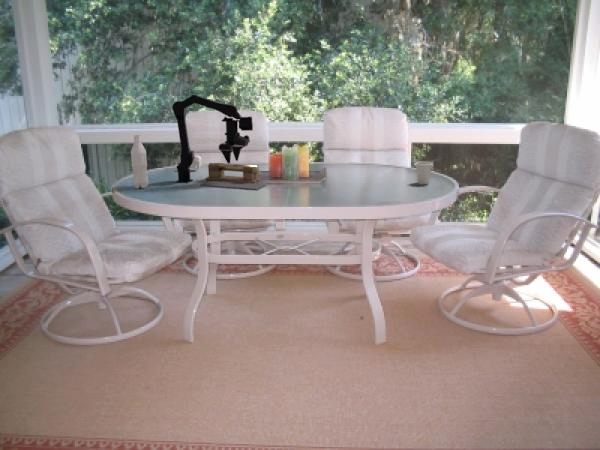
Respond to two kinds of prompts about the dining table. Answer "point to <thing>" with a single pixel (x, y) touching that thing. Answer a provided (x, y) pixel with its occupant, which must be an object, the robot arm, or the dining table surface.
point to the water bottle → (139, 163)
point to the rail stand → (219, 176)
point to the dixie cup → (423, 172)
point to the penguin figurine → (196, 163)
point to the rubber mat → (234, 185)
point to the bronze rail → (234, 167)
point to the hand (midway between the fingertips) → (232, 162)
